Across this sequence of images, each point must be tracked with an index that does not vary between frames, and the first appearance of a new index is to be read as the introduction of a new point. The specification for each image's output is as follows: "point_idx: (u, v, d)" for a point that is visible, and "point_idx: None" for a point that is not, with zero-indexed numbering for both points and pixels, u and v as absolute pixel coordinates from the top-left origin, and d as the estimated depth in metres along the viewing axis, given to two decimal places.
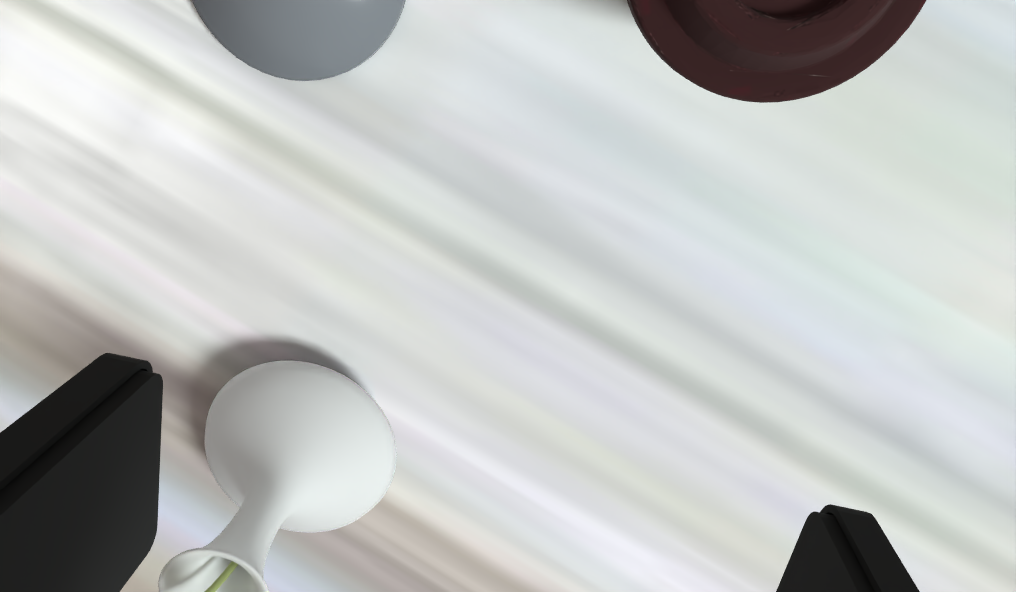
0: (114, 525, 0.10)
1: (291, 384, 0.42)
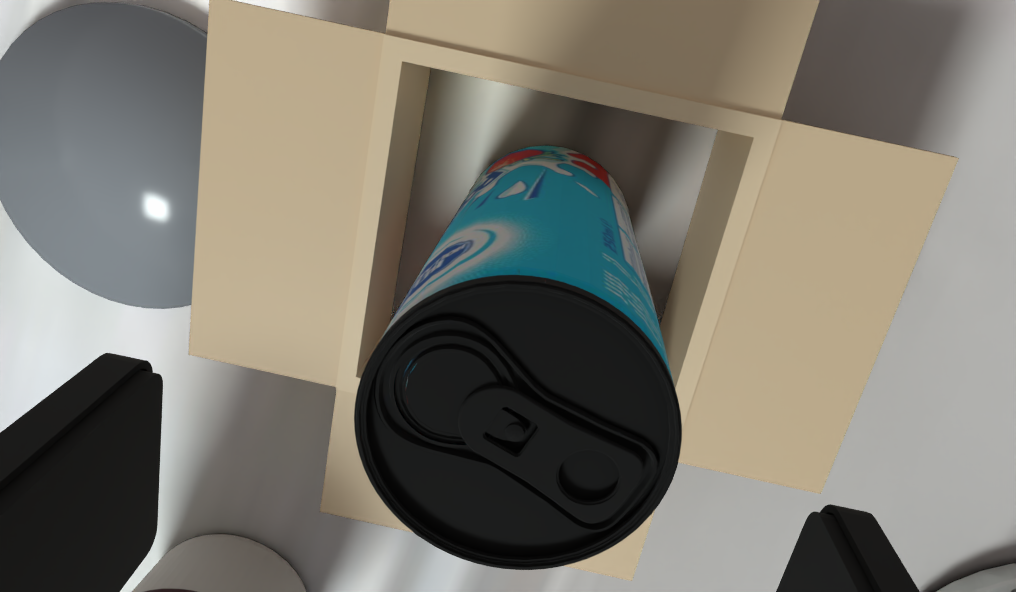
0: (114, 525, 0.10)
1: None
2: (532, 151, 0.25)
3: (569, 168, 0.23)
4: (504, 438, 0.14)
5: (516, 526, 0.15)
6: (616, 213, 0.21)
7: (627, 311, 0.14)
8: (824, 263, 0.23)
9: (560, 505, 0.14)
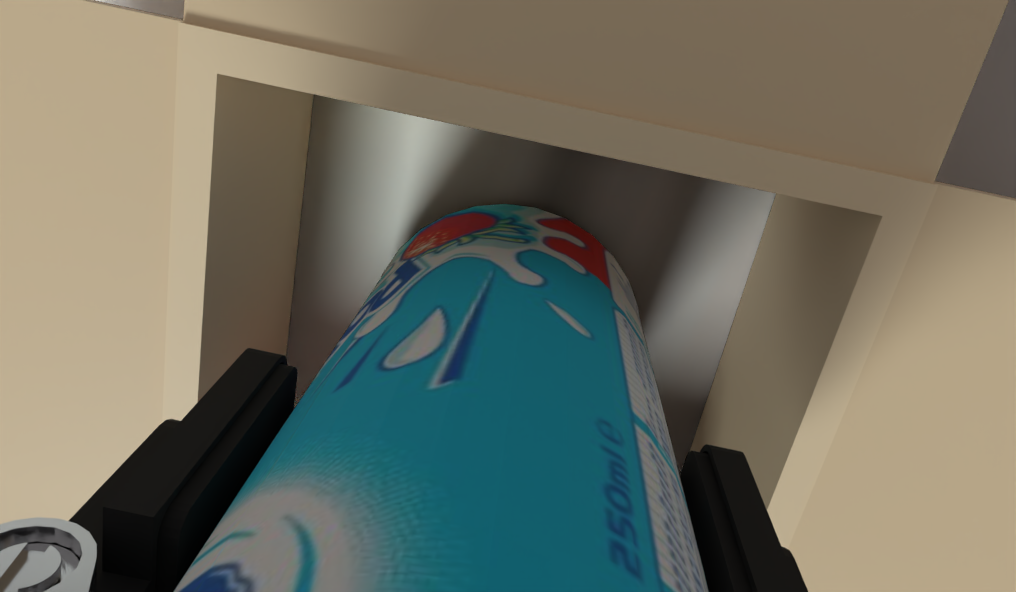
0: None
1: None
2: (479, 217, 0.15)
3: (538, 262, 0.13)
4: None
5: None
6: (625, 367, 0.11)
7: None
8: (992, 432, 0.13)
9: None
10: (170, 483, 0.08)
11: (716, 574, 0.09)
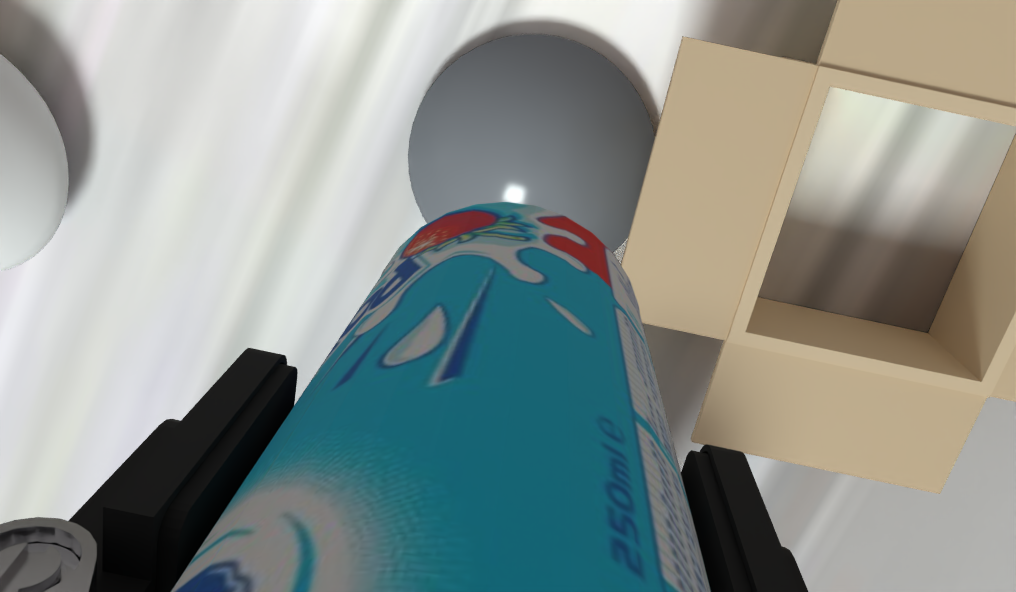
0: None
1: (30, 163, 0.33)
2: (479, 215, 0.15)
3: (538, 260, 0.13)
4: None
5: None
6: (626, 365, 0.11)
7: None
8: None
9: None
10: (170, 483, 0.08)
11: (716, 574, 0.09)
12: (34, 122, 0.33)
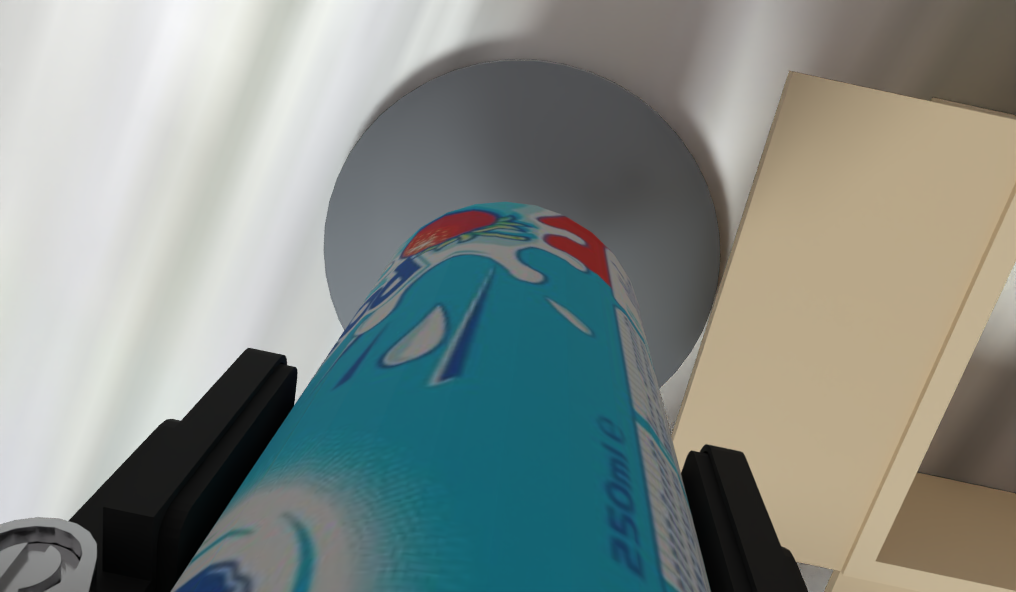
0: None
1: None
2: (479, 215, 0.15)
3: (538, 259, 0.13)
4: None
5: None
6: (627, 365, 0.11)
7: None
8: None
9: None
10: (170, 483, 0.08)
11: (716, 574, 0.09)
12: None
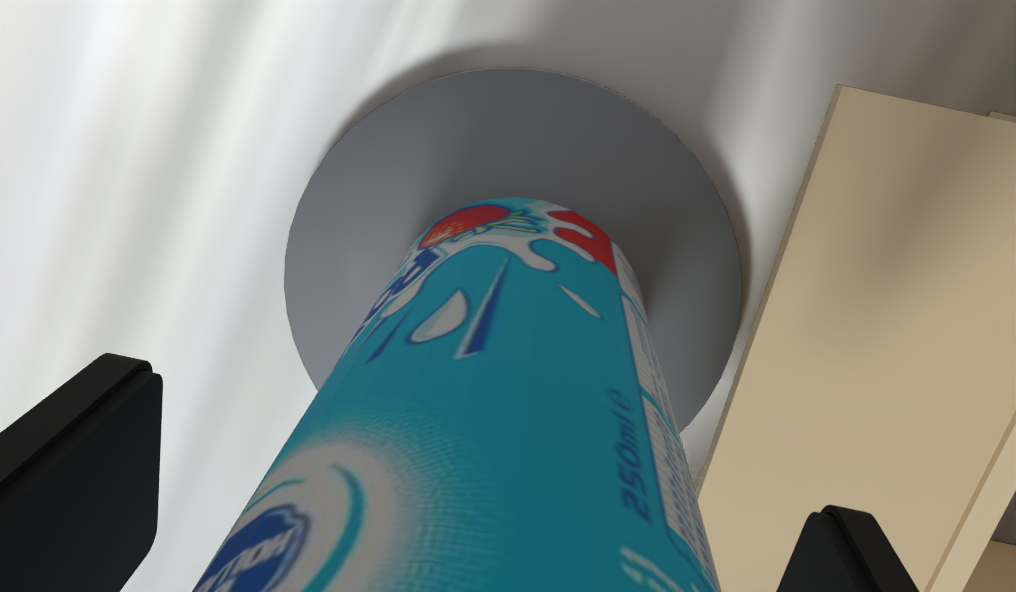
0: (114, 525, 0.10)
1: None
2: (492, 209, 0.16)
3: (549, 250, 0.14)
4: None
5: None
6: (632, 346, 0.12)
7: None
8: None
9: None
10: None
11: None
12: None
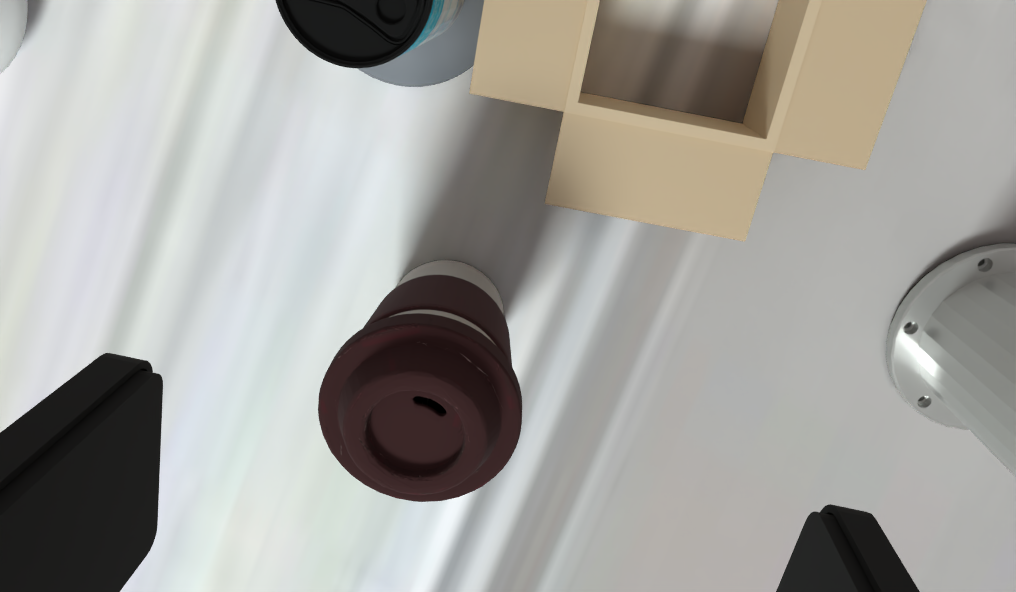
0: (114, 525, 0.10)
1: None
2: None
3: None
4: None
5: (359, 45, 0.29)
6: None
7: None
8: (870, 11, 0.38)
9: (379, 27, 0.29)
10: None
11: None
12: None
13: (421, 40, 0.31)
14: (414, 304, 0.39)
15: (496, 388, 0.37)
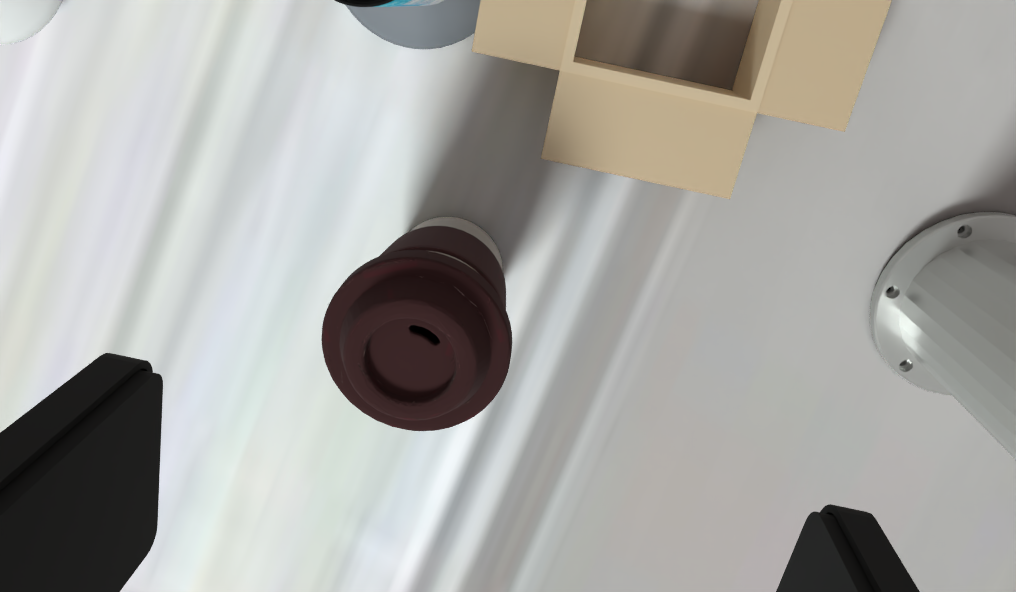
0: (114, 525, 0.10)
1: None
2: None
3: None
4: None
5: None
6: None
7: None
8: None
9: None
10: None
11: None
12: None
13: None
14: (414, 245, 0.42)
15: (487, 321, 0.39)
